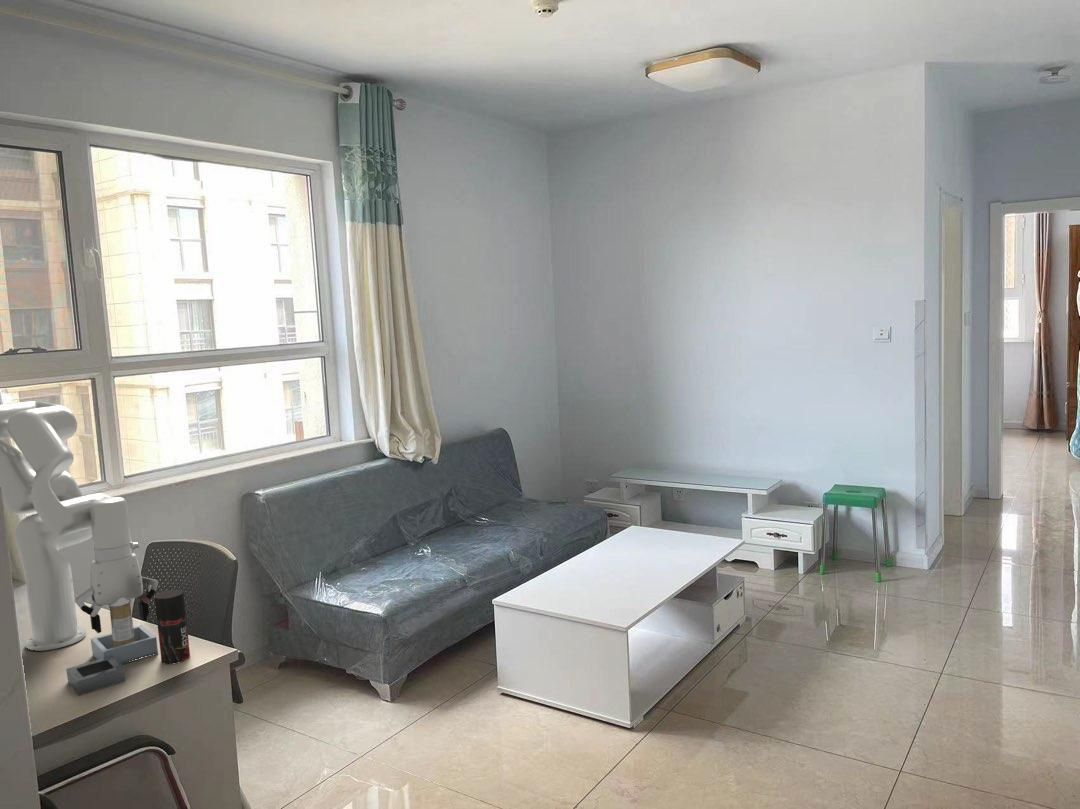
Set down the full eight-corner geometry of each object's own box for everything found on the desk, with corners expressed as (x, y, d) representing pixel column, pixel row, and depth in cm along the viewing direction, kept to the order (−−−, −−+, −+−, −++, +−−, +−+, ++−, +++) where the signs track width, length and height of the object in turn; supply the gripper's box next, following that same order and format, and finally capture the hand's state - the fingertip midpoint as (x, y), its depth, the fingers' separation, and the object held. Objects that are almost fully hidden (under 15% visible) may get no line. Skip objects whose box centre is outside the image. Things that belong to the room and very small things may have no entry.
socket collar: (67, 682, 174) (66, 668, 174) (114, 668, 180) (112, 655, 179) (78, 695, 167) (76, 681, 167) (125, 681, 173) (124, 667, 173)
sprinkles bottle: (118, 648, 189) (112, 592, 188) (139, 646, 190) (133, 590, 188) (110, 656, 185) (103, 599, 183) (131, 654, 185) (125, 597, 184)
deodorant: (184, 663, 181) (177, 597, 179) (157, 665, 180) (150, 599, 179) (193, 652, 187) (187, 588, 185) (167, 654, 186) (160, 590, 185)
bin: (92, 655, 188) (90, 638, 187) (143, 641, 195) (141, 624, 194) (105, 669, 180) (103, 652, 179) (158, 653, 187) (156, 637, 186)
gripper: (149, 541, 193) (156, 610, 195) (66, 558, 182) (74, 631, 184) (159, 547, 187) (166, 618, 189) (74, 564, 176) (83, 641, 178)
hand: (121, 625), depth 187 cm, fingers open, 9 cm apart
